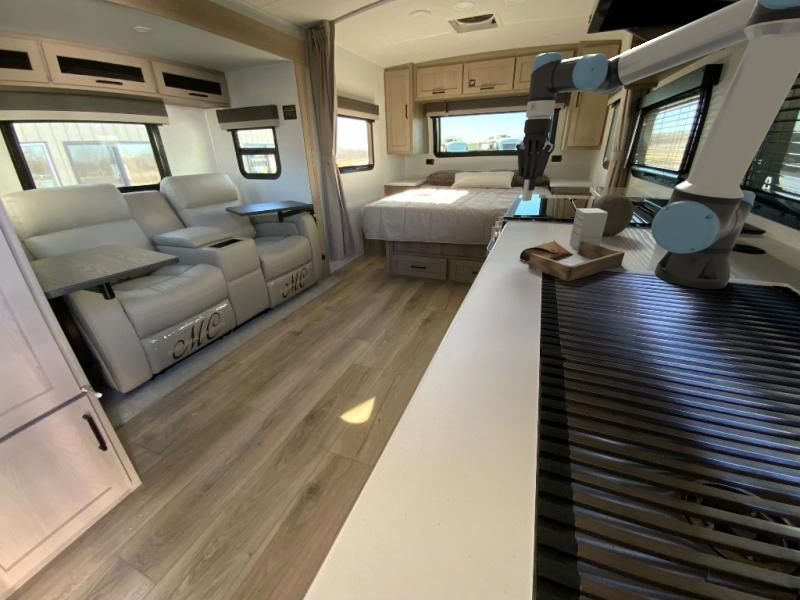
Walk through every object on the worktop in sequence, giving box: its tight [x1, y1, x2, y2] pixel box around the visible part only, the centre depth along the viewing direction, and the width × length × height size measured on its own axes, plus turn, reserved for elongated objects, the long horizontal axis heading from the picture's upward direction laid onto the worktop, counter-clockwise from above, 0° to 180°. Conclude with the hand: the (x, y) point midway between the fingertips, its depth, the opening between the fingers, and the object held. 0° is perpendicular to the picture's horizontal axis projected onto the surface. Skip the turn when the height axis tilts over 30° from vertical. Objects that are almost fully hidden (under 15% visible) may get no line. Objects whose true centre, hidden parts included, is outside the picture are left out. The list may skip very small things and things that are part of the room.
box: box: [528, 241, 626, 283], centre depth 98 cm, size 14×24×4 cm, turn 119°
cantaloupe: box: [591, 193, 635, 237], centre depth 124 cm, size 14×14×15 cm
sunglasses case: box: [519, 239, 574, 262], centre depth 106 cm, size 18×7×7 cm, turn 127°
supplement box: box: [569, 207, 608, 251], centre depth 112 cm, size 7×7×13 cm
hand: (526, 200), depth 108 cm, fingers closed
